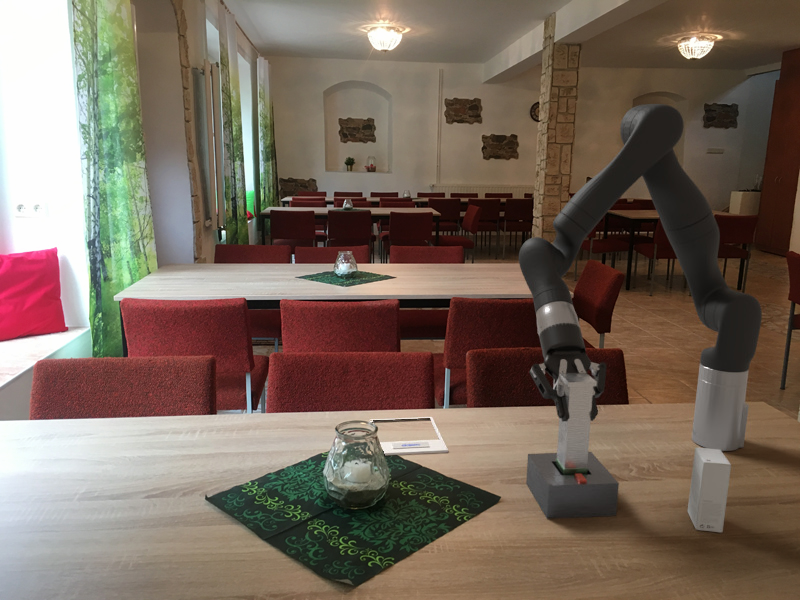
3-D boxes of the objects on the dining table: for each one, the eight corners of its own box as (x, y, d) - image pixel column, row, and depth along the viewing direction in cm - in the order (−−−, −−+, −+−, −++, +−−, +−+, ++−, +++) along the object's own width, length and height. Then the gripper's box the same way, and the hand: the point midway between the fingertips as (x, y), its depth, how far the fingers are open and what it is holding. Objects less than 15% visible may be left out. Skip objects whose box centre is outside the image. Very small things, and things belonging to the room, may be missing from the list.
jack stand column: (579, 463, 114) (585, 372, 111) (589, 475, 110) (596, 381, 106) (553, 463, 114) (559, 373, 111) (562, 476, 109) (568, 382, 106)
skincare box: (723, 533, 103) (732, 465, 100) (695, 530, 104) (703, 462, 101) (713, 514, 109) (721, 448, 106) (686, 511, 109) (693, 446, 107)
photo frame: (377, 452, 129) (369, 418, 147) (377, 457, 129) (369, 423, 147) (447, 449, 131) (432, 415, 148) (447, 454, 131) (431, 420, 149)
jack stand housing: (588, 481, 119) (591, 449, 118) (615, 515, 108) (619, 480, 106) (526, 483, 118) (528, 451, 117) (546, 518, 107) (549, 482, 105)
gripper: (526, 321, 113) (544, 411, 104) (603, 320, 115) (628, 409, 105) (517, 342, 120) (532, 429, 110) (590, 341, 121) (612, 426, 112)
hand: (579, 419), depth 108 cm, fingers closed on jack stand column, 4 cm apart
